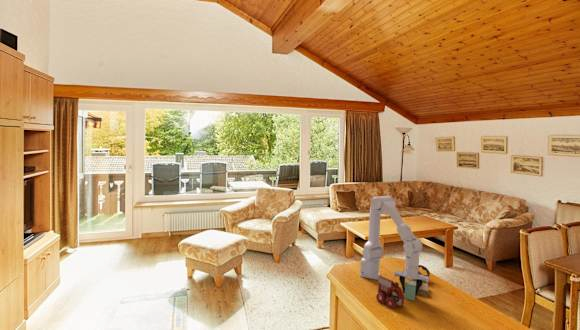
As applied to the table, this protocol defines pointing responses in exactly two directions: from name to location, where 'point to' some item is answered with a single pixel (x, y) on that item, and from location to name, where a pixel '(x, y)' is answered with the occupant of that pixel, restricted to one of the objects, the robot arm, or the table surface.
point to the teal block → (410, 290)
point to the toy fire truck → (389, 292)
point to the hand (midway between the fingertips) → (409, 293)
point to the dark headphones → (425, 270)
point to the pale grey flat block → (422, 288)
